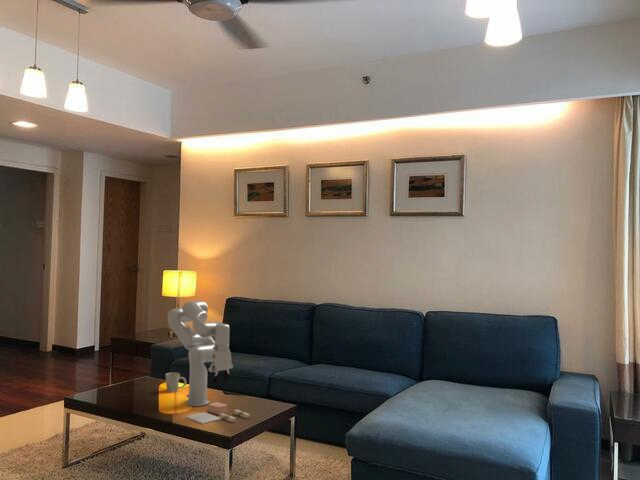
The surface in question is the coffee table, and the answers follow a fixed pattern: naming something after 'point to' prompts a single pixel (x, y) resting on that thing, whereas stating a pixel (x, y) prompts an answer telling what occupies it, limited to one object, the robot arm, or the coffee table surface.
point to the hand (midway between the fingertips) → (220, 382)
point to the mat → (203, 418)
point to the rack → (233, 419)
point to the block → (217, 408)
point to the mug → (173, 381)
